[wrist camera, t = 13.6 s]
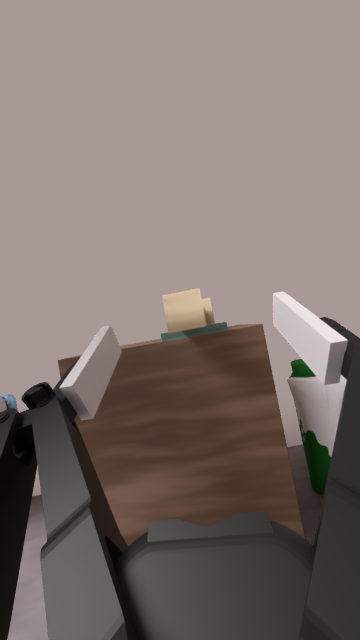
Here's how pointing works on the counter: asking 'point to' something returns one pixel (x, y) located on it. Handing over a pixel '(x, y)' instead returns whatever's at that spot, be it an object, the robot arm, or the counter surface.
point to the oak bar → (187, 310)
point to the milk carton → (316, 419)
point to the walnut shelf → (191, 431)
